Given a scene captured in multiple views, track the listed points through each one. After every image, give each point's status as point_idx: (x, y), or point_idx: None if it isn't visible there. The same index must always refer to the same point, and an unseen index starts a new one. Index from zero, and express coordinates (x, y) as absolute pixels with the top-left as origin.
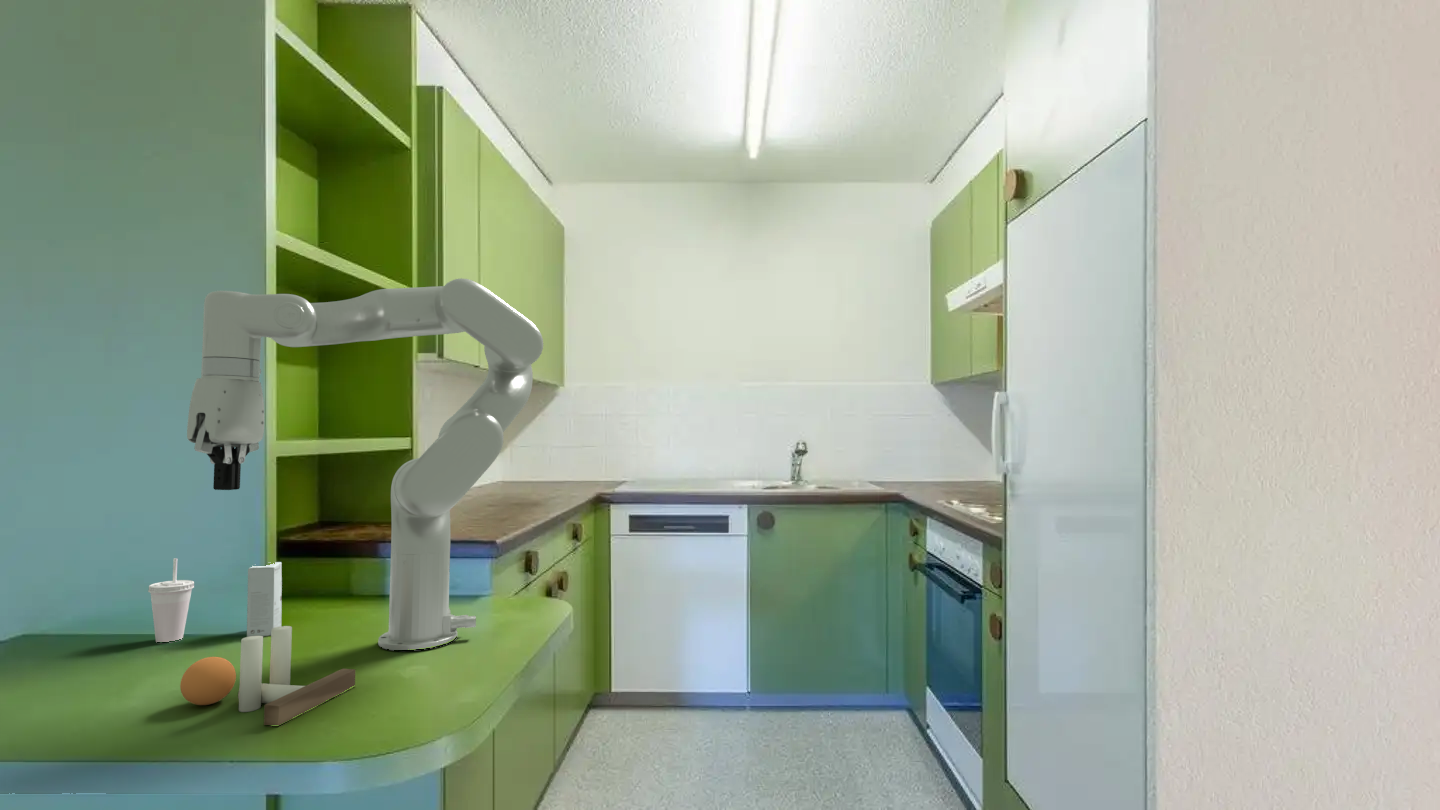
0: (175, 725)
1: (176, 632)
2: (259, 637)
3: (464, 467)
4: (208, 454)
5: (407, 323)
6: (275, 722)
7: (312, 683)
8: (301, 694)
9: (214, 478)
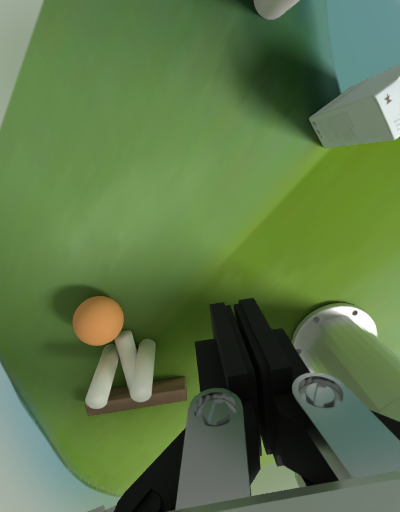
0: (57, 330)
1: (271, 15)
2: (101, 404)
3: None
4: (139, 487)
5: None
6: None
7: None
8: (116, 410)
9: (197, 351)
